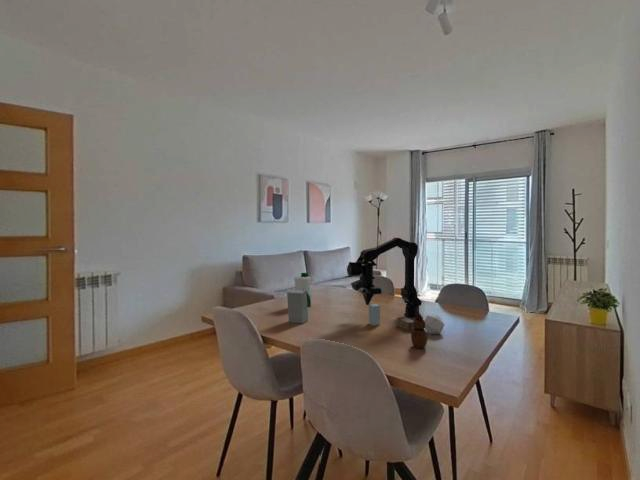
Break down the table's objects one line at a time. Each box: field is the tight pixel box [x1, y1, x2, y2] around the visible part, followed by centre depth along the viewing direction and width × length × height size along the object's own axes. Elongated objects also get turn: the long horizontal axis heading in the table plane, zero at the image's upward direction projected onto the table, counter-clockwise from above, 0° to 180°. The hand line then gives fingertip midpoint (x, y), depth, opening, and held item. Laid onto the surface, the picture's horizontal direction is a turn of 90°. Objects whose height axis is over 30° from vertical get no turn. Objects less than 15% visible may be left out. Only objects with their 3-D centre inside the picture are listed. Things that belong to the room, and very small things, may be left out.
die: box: [424, 315, 445, 335], centre depth 155 cm, size 8×9×10 cm
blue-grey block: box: [368, 303, 381, 327], centre depth 169 cm, size 4×4×10 cm
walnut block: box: [396, 316, 414, 332], centre depth 163 cm, size 4×4×10 cm
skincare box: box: [286, 289, 309, 324], centre depth 174 cm, size 8×7×16 cm
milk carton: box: [293, 272, 312, 308], centre depth 205 cm, size 9×9×20 cm
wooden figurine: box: [410, 309, 428, 349], centre depth 137 cm, size 7×6×15 cm
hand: (367, 304), depth 176 cm, fingers closed
